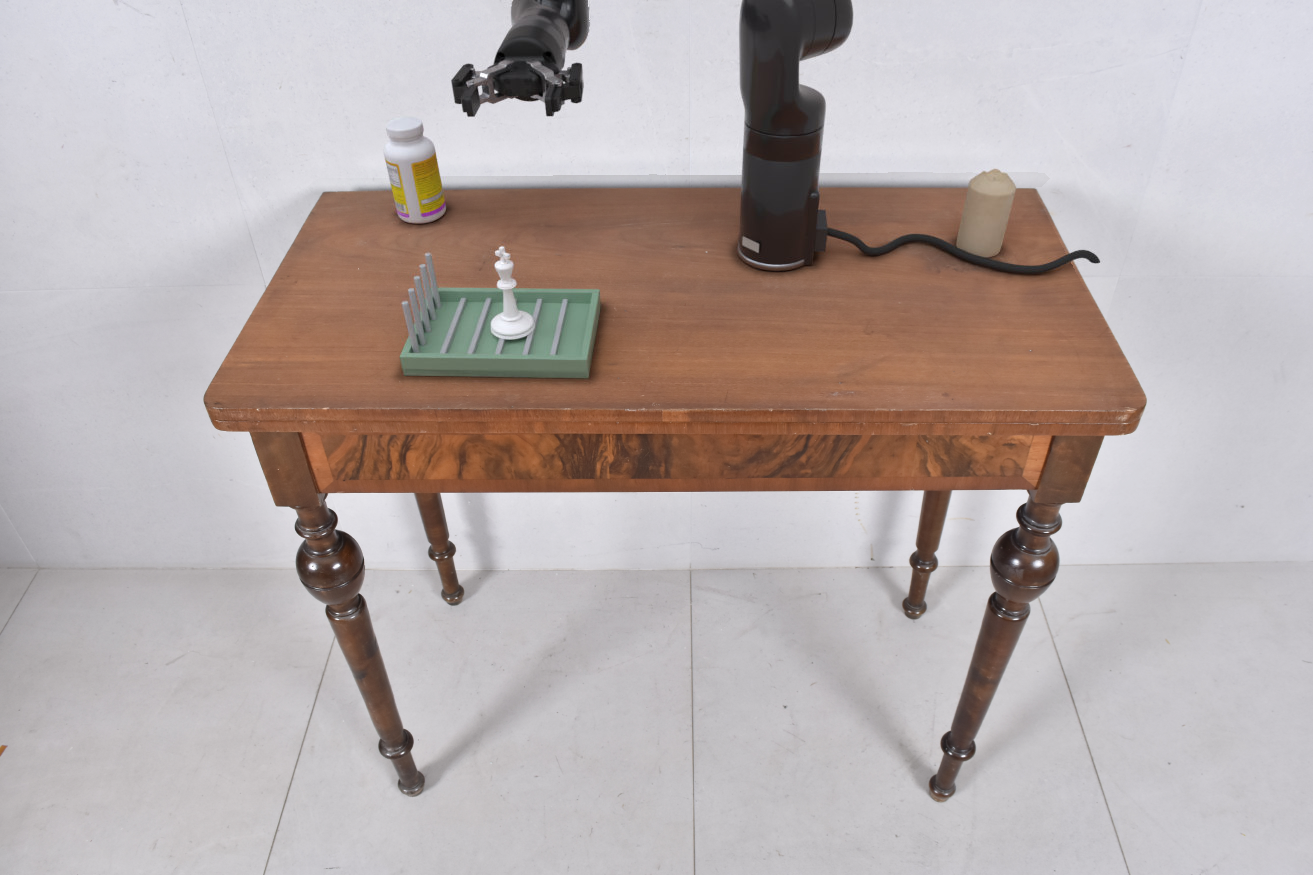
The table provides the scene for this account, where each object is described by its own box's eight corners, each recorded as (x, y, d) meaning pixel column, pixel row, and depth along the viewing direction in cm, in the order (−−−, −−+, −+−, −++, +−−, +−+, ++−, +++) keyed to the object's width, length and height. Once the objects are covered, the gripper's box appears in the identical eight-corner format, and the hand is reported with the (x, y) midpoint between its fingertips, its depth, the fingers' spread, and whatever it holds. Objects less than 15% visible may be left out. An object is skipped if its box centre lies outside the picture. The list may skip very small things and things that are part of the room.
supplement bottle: (452, 204, 130) (436, 114, 122) (439, 226, 125) (422, 134, 117) (406, 202, 131) (387, 113, 122) (391, 225, 126) (370, 133, 117)
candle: (952, 254, 117) (968, 179, 111) (959, 234, 121) (974, 161, 115) (997, 261, 116) (1016, 186, 109) (1002, 241, 119) (1021, 167, 113)
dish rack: (601, 307, 109) (597, 246, 104) (588, 378, 99) (583, 315, 93) (433, 305, 110) (421, 245, 105) (403, 375, 100) (388, 312, 94)
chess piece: (516, 344, 101) (504, 264, 94) (481, 331, 103) (468, 251, 96) (543, 323, 104) (534, 243, 97) (509, 310, 106) (498, 232, 100)
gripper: (468, 25, 109) (436, 72, 96) (588, 23, 108) (572, 71, 95) (477, 89, 113) (448, 142, 101) (593, 88, 113) (578, 142, 100)
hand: (508, 108), depth 98 cm, fingers open, 8 cm apart
